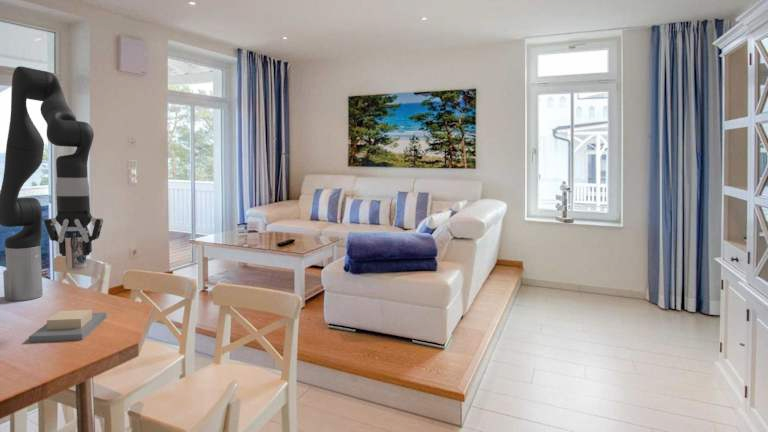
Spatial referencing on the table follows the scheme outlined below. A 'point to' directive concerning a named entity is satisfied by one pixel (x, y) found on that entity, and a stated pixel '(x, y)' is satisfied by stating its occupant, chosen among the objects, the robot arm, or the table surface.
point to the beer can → (74, 249)
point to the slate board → (67, 332)
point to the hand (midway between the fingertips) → (75, 255)
